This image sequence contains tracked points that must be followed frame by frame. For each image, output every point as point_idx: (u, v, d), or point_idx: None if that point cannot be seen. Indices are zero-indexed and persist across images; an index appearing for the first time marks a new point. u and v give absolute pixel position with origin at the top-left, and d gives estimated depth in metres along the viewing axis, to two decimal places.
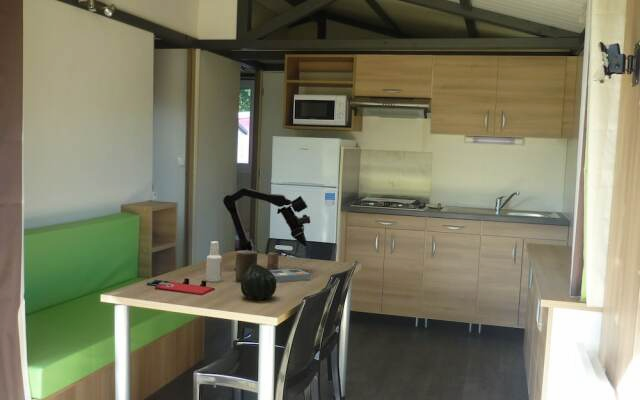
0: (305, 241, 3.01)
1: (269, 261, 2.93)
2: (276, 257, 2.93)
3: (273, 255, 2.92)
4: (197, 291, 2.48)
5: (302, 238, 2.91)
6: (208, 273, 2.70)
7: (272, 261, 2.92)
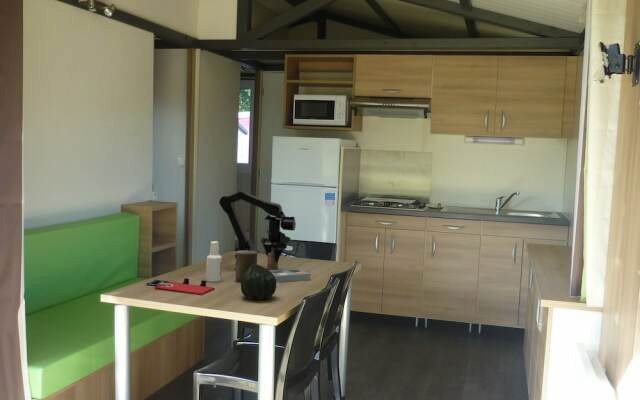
0: None
1: (269, 261, 2.93)
2: None
3: (273, 255, 2.92)
4: (197, 291, 2.48)
5: (279, 254, 2.89)
6: (208, 273, 2.70)
7: (272, 261, 2.92)
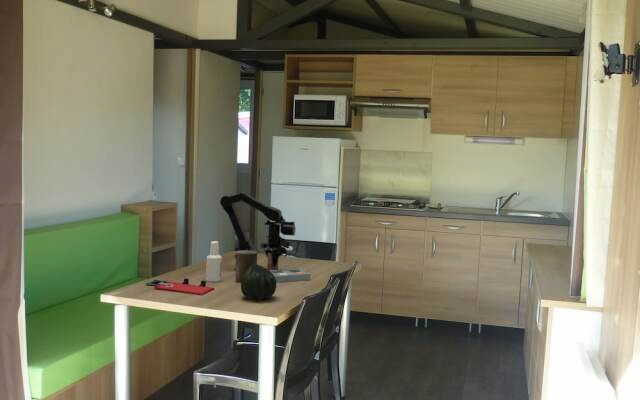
0: None
1: (269, 261, 2.93)
2: None
3: None
4: (197, 291, 2.48)
5: (276, 258, 2.91)
6: (208, 273, 2.70)
7: None
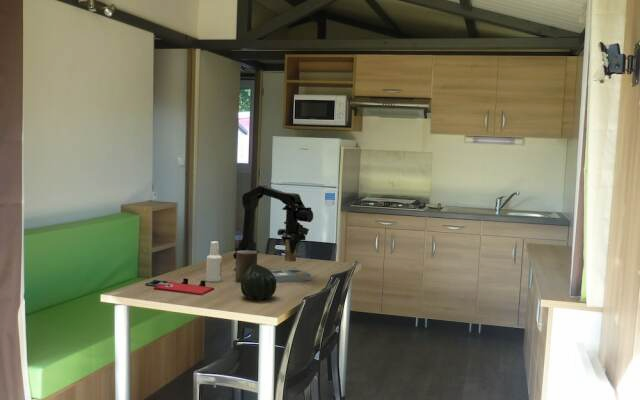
0: None
1: (287, 248, 2.80)
2: None
3: None
4: (197, 291, 2.48)
5: (295, 245, 2.79)
6: (208, 273, 2.70)
7: None
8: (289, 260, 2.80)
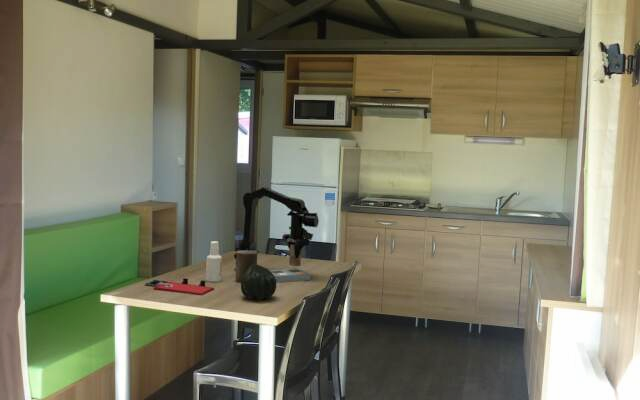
0: None
1: (292, 253, 2.86)
2: None
3: None
4: (197, 291, 2.48)
5: (299, 250, 2.84)
6: (208, 273, 2.70)
7: None
8: (294, 265, 2.85)
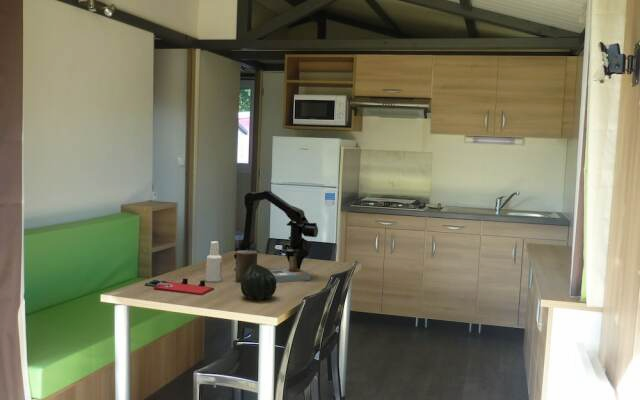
0: None
1: (291, 265, 2.86)
2: None
3: None
4: (197, 291, 2.48)
5: (301, 260, 2.83)
6: (208, 273, 2.70)
7: (294, 264, 2.85)
8: None
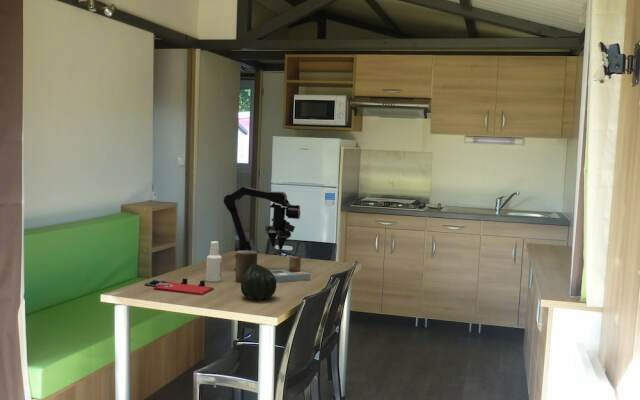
0: (273, 245, 2.98)
1: (291, 265, 2.86)
2: (298, 261, 2.86)
3: (295, 259, 2.85)
4: (197, 291, 2.48)
5: (283, 242, 2.89)
6: (208, 273, 2.70)
7: (294, 265, 2.85)
8: None
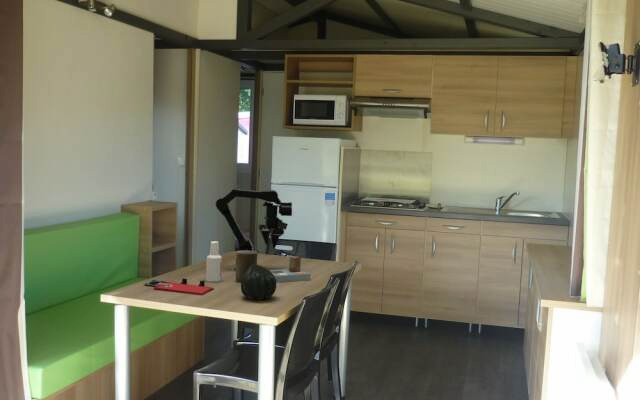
0: (266, 243, 3.01)
1: (291, 265, 2.86)
2: (298, 261, 2.86)
3: (295, 259, 2.85)
4: (197, 291, 2.48)
5: (276, 239, 2.92)
6: (208, 273, 2.70)
7: (294, 264, 2.85)
8: None
